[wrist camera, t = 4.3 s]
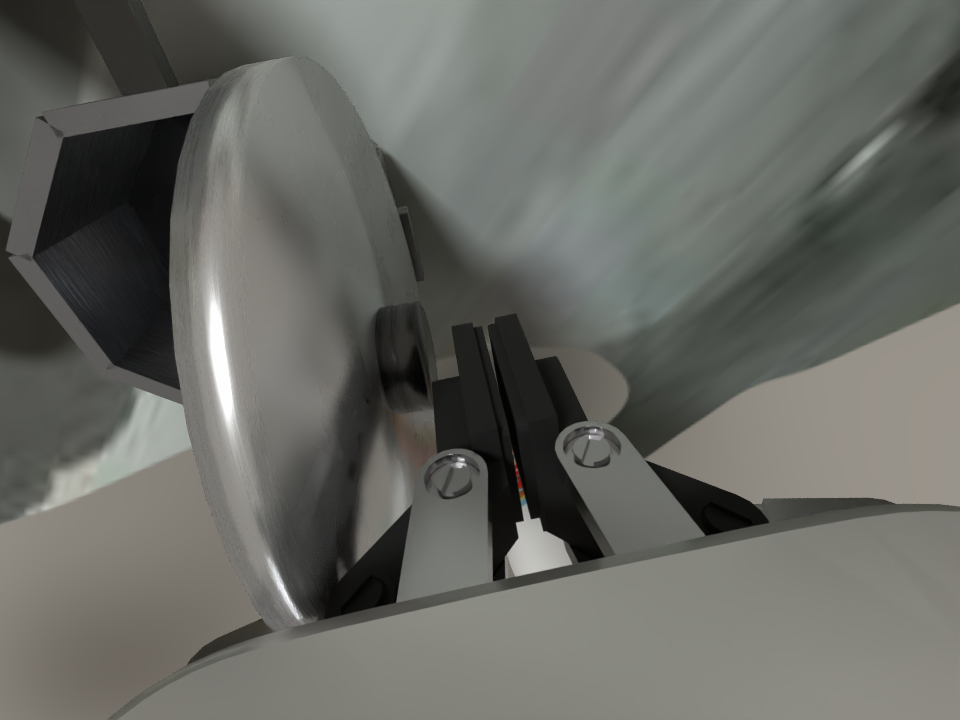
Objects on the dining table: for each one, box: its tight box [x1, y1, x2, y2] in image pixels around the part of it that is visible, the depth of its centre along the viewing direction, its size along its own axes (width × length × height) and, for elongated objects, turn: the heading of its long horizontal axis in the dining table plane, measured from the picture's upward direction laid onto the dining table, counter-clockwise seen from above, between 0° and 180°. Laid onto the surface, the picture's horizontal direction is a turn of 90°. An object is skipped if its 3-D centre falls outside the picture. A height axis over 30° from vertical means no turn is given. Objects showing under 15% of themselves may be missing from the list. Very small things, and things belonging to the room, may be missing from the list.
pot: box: [6, 0, 424, 405], centre depth 23 cm, size 15×20×8 cm
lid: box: [169, 56, 438, 623], centre depth 13 cm, size 15×14×2 cm
